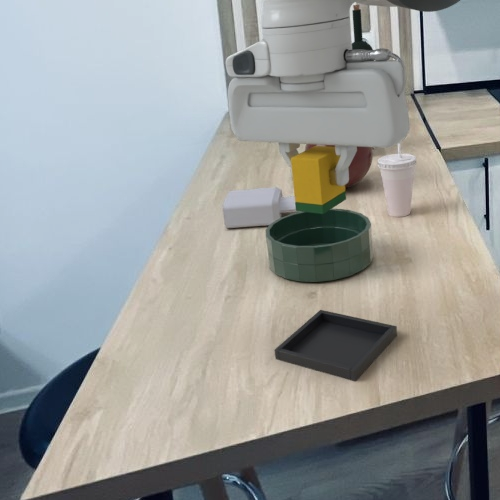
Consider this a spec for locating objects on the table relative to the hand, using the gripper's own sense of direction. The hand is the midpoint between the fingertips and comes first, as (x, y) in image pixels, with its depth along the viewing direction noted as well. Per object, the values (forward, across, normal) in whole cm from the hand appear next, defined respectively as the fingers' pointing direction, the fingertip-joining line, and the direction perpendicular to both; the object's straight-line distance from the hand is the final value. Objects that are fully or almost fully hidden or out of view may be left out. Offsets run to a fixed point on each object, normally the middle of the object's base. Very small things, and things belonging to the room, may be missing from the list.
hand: (319, 182), depth 72 cm
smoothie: (+19, +10, -40) cm, 45 cm away
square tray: (+19, -2, +3) cm, 19 cm away
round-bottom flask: (+19, +27, -50) cm, 60 cm away
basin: (+19, +12, -17) cm, 28 cm away
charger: (+19, +31, -31) cm, 47 cm away
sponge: (+3, 0, 0) cm, 3 cm away
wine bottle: (+19, +52, -108) cm, 121 cm away
